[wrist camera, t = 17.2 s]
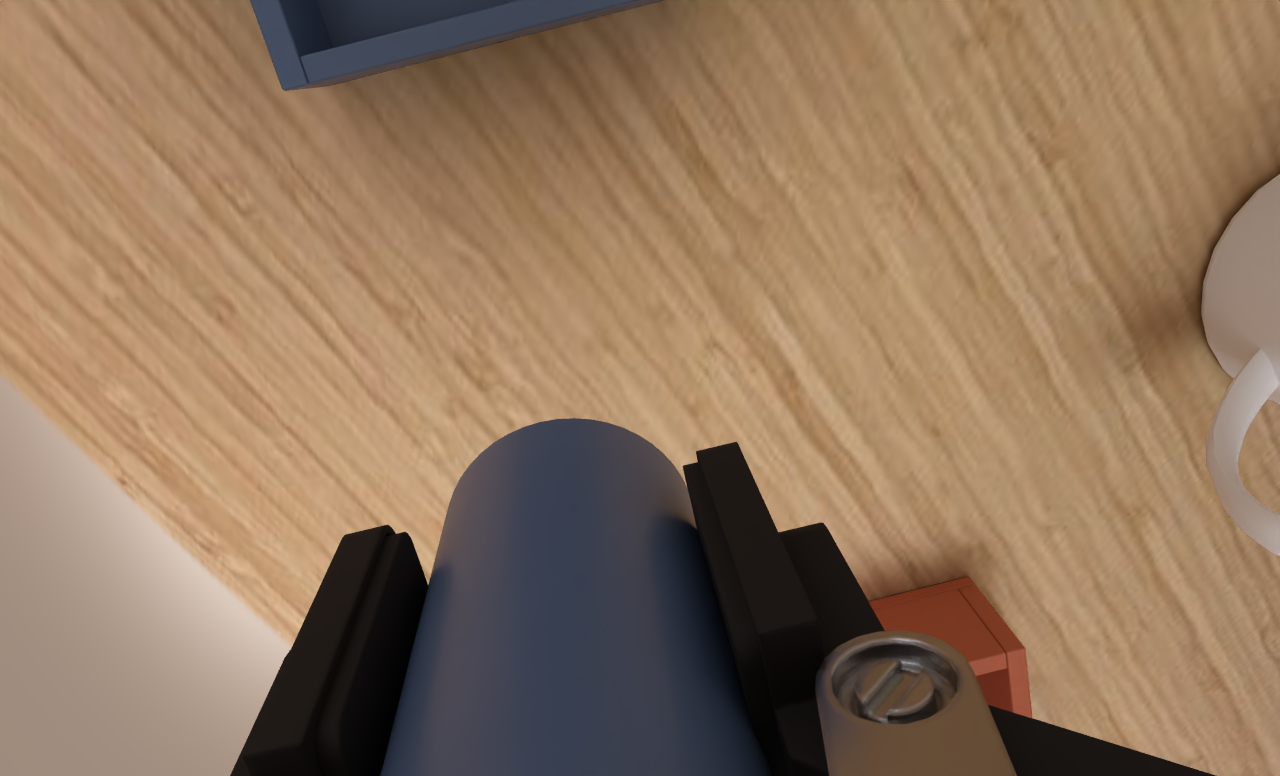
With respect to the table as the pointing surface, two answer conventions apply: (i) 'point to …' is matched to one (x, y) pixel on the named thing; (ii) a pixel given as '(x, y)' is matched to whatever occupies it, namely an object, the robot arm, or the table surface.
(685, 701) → the slate peg
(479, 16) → the slate bin
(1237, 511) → the mug
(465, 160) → the table surface
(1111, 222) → the table surface
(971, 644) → the terracotta bin
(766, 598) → the robot arm
